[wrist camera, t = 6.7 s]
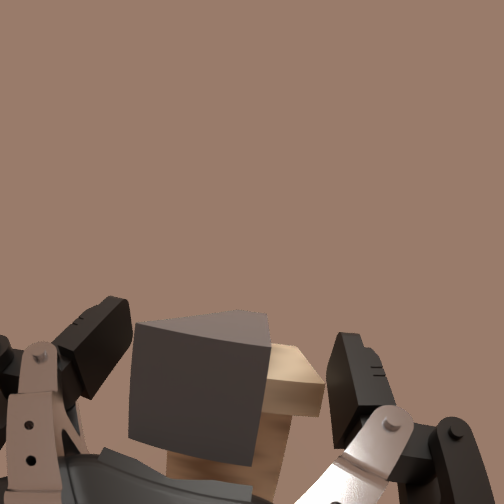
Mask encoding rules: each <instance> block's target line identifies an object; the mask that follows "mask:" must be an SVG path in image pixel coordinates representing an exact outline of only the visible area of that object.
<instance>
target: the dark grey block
mask: <svg viewBox="0 0 504 504" xmlns="http://www.w3.org/2000/svg"><path fill="white" fill-rule="evenodd" d="M271 348H272V347H271V340H270V333H269V326H268V319H267V314H264V313H256V312H250V311H242V310H233V311H227V312H220V313H213V314H206V315H198V316H191V317H183V318H175V319H166V320H157V321H147V322H139V323H136V324H135V333H134V343H133V353H132V365H131V377H130V395H129V430H128V432H129V433H128V434H129V435H128V436H129V438H130V439H133V440H136V441H139V442H142V443H145V444H148V445H151V446H154V447H158V448H161V449H165V450H168V451H172V452H176V453H180V454H184V455H188V456H192V457H196V458H201V459H206V460H211V461H216V462H221V463H227V464H233V465H240V466H248V467H252V462H253V456H254V451H255V445H256V440H257V434H258V429H259V423H260V417H261V411H262V405H263V399H264V393H265V387H266V380H267V374H268V368H269V361H270V354H271Z"/></svg>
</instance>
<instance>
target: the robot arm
mask: <svg viewBox="0 0 504 504" xmlns="http://www.w3.org/2000/svg"><path fill="white" fill-rule="evenodd" d="M132 337H133V330H132V324H131V317H130V309H129V303H128V301H127V300H126V299H122V298H118V297H113V296H108V297H107V298H106V299H104V300H103V302H101V303H100V304H99V305H96V306H93V307H91V308H89V309H87V310H86V311H84V312H83V313H82V314H81V315H80V316H79V318H77V319H76V320H75V321H74V322H73V323H72V324H70V325H69V326H68V327H67V328H66V329H65V330H64V331H63V332H62V333H61V334H60V335H59V336H58V337H57V338H56V339H55V340H54V341H53V342H51V343H49V342H37V343H34V344H32V345H30V346H28V347H27V348H26V349H25V350H17V349H12V347H11V345H10V342H9V340H8V338H7V337H5V336H3V335H0V450H1V448H2V447H3V445H4V444H5V442H6V454H7V455H6V456H7V473H8V476H6V477H3V478H0V504H273V503H271V502H270V501H268V500H265V499H263V498H261V497H258V496H256V495H253V494H252V490H253V486H249V485H242V484H235V483H228V482H222V481H217V480H183V479H171V478H168V477H166V476H164V475H162V474H161V473H159V472H157V471H155V470H153V469H152V468H150V467H148V466H147V465H145V464H143V463H141V462H140V461H138V460H137V459H134V458H131V457H128V456H126V455H123V454H120V453H118V452H115V451H113V450H110V449H108V448H105V447H104V448H103V450H102V452H101V454H100V455H97V454H89V451H88V449H87V446H86V443H85V439H84V434H83V429H82V423H81V417H80V410H79V404H78V402H77V399H78V398H79V396H82V397H85V398H87V399H89V400H92V398H93V397H94V395H95V394H96V392H97V391H98V390H99V388H100V387H101V385H102V384H103V382H104V381H105V380H106V378H107V377H108V375H109V374H110V373H111V371H112V370H113V368H114V367H115V366H116V364H117V363H118V361H119V360H120V359H121V357H122V356H123V355H124V353H125V352H126V350H127V349H128V348H129V346H130V344H131V342H132ZM382 367H383V366H382V363H381V361H380V358H379V356H378V355H377V354H376V353H375V352H374V351H373V350H372V349H371V348H365V347H364V346H363V343H362V340H361V337H360V335H359V334H355V333H343V332H339V333H338V335H337V337H336V341H335V344H334V347H333V350H332V353H331V357H330V360H329V362H328V366H327V372H326V381H327V388H328V397H329V404H330V414H331V423H332V433H333V443H334V449H345V451H344V452H343V454H342V455H341V456H339V457H338V458H337V459H336V460H335V461H334V463H333V464H332V465H331V466H330V467H329V468H328V469H327V471H326V472H325V473H324V474H323V475H322V476H321V477H320V478H319V480H318V481H317V482H316V483H315V484H314V485H313V486H312V487H311V488H310V489H309V490H308V491H307V492H306V493H305V494H304V495H303V496H302V497H301V498H300V499H299V500H298V501H297V502H296V503H295V504H376V503H377V501H378V500H379V498H380V497H381V495H382V494H383V492H384V490H385V489H386V486H387V485H388V482H389V481H392V482H397V484H398V492H399V501H400V504H495V501H494V497H493V494H492V490H491V486H490V483H489V479H488V476H487V473H486V470H485V467H484V464H483V461H482V458H481V455H480V452H479V449H478V446H477V444H476V441H475V438H474V436H473V433H472V431H471V429H470V427H469V425H468V424H467V423H466V422H465V421H463V420H462V419H460V418H457V417H446V418H444V419H443V420H441V421H440V422H439V424H438V425H437V426H436V427H434V426H428V425H422V424H417V423H414V422H413V419H412V417H411V416H410V415H409V413H408V412H406V411H405V410H404V409H402V408H400V407H397V406H396V403H395V400H394V397H393V394H392V391H391V388H390V386H389V383H388V380H387V377H385V375H386V374H385V372H384V369H382Z"/></svg>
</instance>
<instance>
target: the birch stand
mask: <svg viewBox="0 0 504 504" xmlns="http://www.w3.org/2000/svg"><path fill="white" fill-rule="evenodd" d="M271 347H272V348H271V354H270V361H269V368H268V374H267V380H266V387H265V393H264V399H263V405H262V411H261V417H260V423H259V429H258V434H257V440H256V445H255V451H254V456H253V462H252V467H248V466H240V465H233V464H227V463H221V462H216V461H211V460H206V459H201V458H196V457H192V456H188V455H184V454H180V453H176V452H172V451H168V450H167V468H166V469H167V470H166V477H168V478H171V479H183V480H217V481H222V482H228V483H235V484H242V485H249V486H253V490H252V494H253V495H256V496H258V497H261V498H263V499H265V500H268V501H270V502H271V503H272V502H273V498H274V494H275V490H276V486H277V482H278V478H279V474H280V470H281V466H282V462H283V457H284V453H285V448H286V444H287V439H288V434H289V430H290V425H291V420H292V415H294V416H308V417H319V413H320V409H321V403H322V399H323V394H324V388H325V383H324V382H323V380H322V379H321V378H320V376H319V375H318V374H317V372H316V371H315V370H314V368H313V367H312V366H311V365H310V363H309V362H308V361H307V359H306V358H305V357H304V355H303V354H302V353H301V352H300V350H299V349H298V348H297V347H296V346H290V345H281V344H273V343H271Z"/></svg>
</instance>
